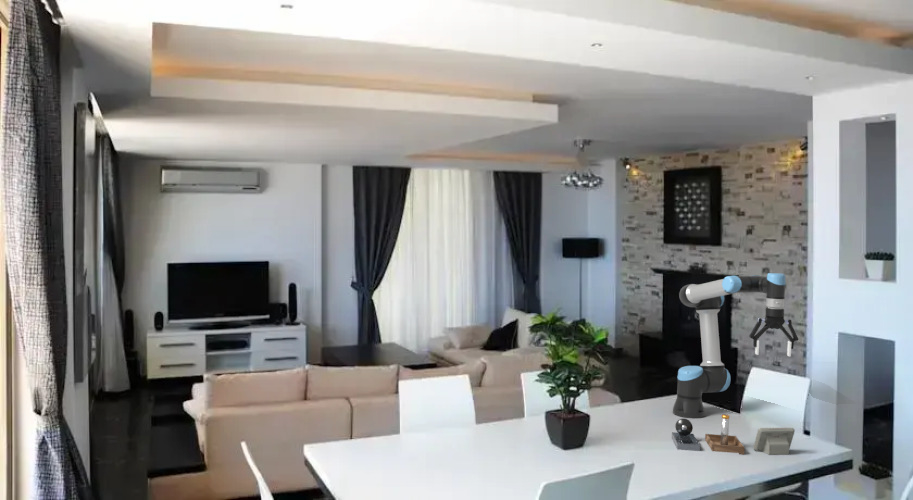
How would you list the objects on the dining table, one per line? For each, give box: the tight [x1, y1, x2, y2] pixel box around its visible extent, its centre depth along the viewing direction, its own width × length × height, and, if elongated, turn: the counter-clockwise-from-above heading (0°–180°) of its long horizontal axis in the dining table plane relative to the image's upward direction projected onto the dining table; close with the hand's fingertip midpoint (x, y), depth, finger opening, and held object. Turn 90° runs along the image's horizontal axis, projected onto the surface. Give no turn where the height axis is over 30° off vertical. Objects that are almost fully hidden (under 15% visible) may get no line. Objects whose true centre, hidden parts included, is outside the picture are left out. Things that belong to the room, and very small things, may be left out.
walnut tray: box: [704, 433, 745, 455], centre depth 302 cm, size 16×13×3 cm
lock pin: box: [720, 414, 730, 445], centre depth 301 cm, size 3×3×13 cm
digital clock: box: [752, 426, 795, 456], centre depth 298 cm, size 16×9×11 cm, turn 85°
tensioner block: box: [671, 418, 701, 452], centre depth 303 cm, size 16×9×10 cm, turn 171°
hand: (772, 355), depth 318 cm, fingers open, 13 cm apart
